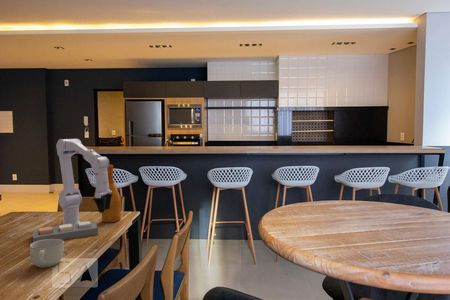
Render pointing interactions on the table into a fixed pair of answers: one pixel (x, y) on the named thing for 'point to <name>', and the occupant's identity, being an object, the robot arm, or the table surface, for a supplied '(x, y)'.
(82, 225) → the pale blue key
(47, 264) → the teacup
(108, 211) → the wine bottle
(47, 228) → the terracotta key
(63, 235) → the key console
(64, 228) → the off-white key
